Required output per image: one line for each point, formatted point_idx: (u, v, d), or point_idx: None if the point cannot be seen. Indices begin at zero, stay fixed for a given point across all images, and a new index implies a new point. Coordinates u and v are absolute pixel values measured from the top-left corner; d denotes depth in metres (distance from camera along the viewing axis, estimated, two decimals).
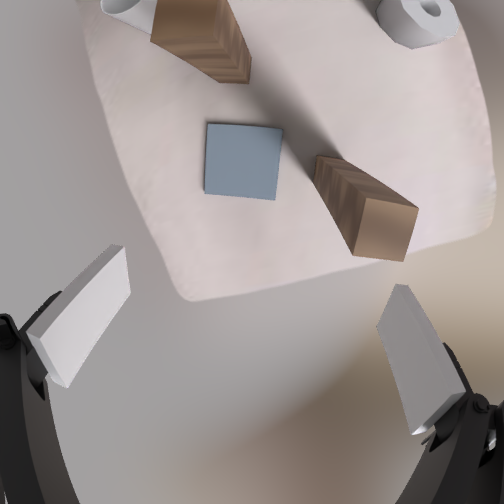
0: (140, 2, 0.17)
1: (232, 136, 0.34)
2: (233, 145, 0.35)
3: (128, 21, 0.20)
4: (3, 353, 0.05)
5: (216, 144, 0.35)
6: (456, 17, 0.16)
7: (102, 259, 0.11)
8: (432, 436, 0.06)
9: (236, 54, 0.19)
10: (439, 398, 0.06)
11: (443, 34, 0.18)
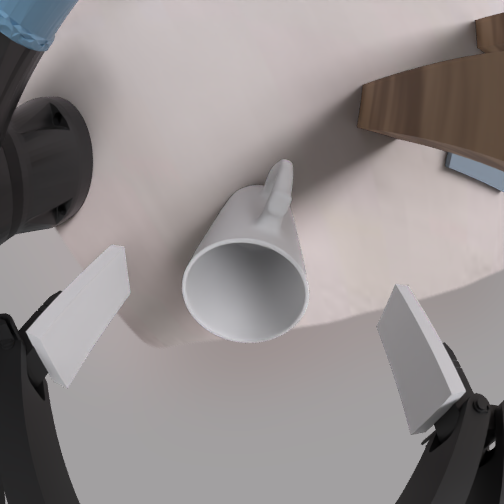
0: (296, 262, 0.13)
1: None
2: None
3: None
4: (3, 353, 0.05)
5: (471, 162, 0.19)
6: None
7: (102, 258, 0.11)
8: (432, 436, 0.06)
9: None
10: (439, 398, 0.06)
11: None
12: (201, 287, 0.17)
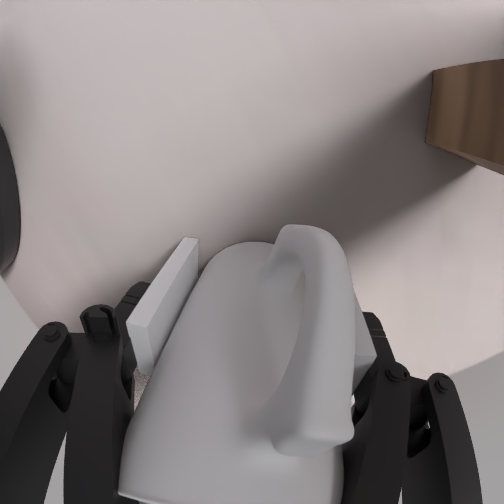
0: None
1: None
2: None
3: None
4: (95, 346, 0.07)
5: None
6: None
7: (182, 250, 0.12)
8: (351, 410, 0.08)
9: None
10: None
11: None
12: None
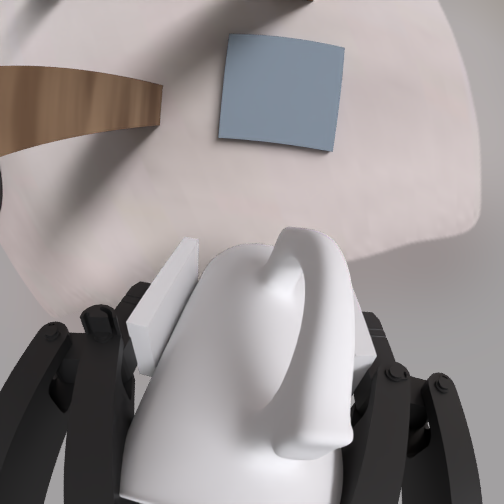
0: None
1: (240, 101, 0.21)
2: (254, 99, 0.21)
3: None
4: (96, 346, 0.07)
5: (252, 124, 0.22)
6: None
7: (182, 250, 0.12)
8: (351, 410, 0.08)
9: None
10: None
11: None
12: None
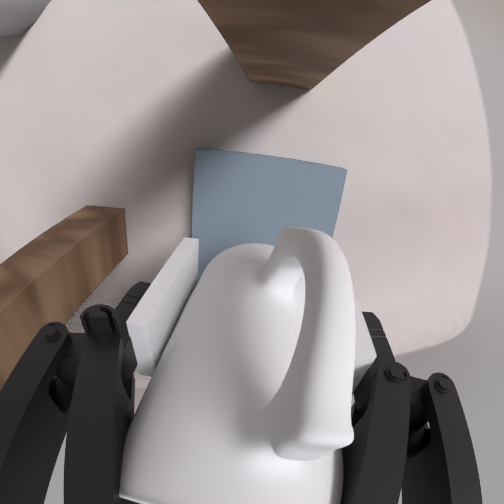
0: None
1: (213, 242, 0.20)
2: (229, 242, 0.20)
3: None
4: (96, 346, 0.07)
5: None
6: None
7: (182, 250, 0.12)
8: (351, 410, 0.08)
9: None
10: None
11: None
12: None
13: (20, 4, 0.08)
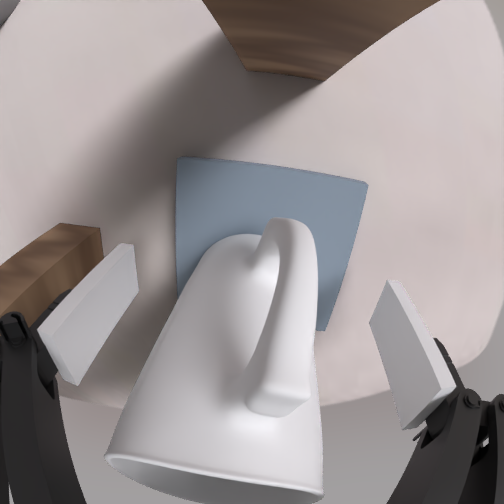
0: (306, 485, 0.04)
1: None
2: None
3: None
4: (13, 351, 0.05)
5: None
6: None
7: (112, 257, 0.11)
8: (423, 432, 0.07)
9: None
10: (429, 393, 0.07)
11: None
12: None
13: None
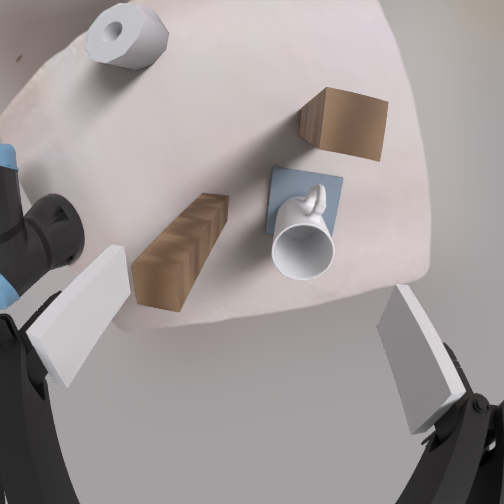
0: (328, 235, 0.28)
1: None
2: None
3: None
4: (3, 353, 0.05)
5: None
6: (114, 7, 0.20)
7: (102, 258, 0.11)
8: (432, 436, 0.06)
9: (196, 226, 0.29)
10: (439, 398, 0.06)
11: (139, 14, 0.21)
12: (276, 252, 0.31)
13: (148, 52, 0.28)
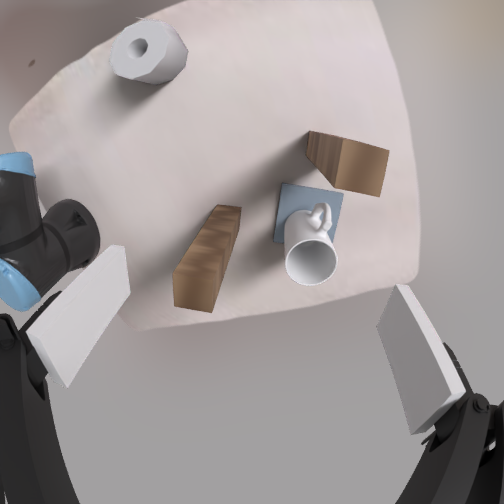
0: (333, 248, 0.33)
1: None
2: None
3: None
4: (3, 353, 0.05)
5: None
6: (139, 23, 0.24)
7: (102, 259, 0.11)
8: (432, 436, 0.06)
9: (220, 238, 0.33)
10: (439, 398, 0.06)
11: (164, 34, 0.25)
12: (287, 261, 0.37)
13: (170, 69, 0.32)
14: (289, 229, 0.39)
